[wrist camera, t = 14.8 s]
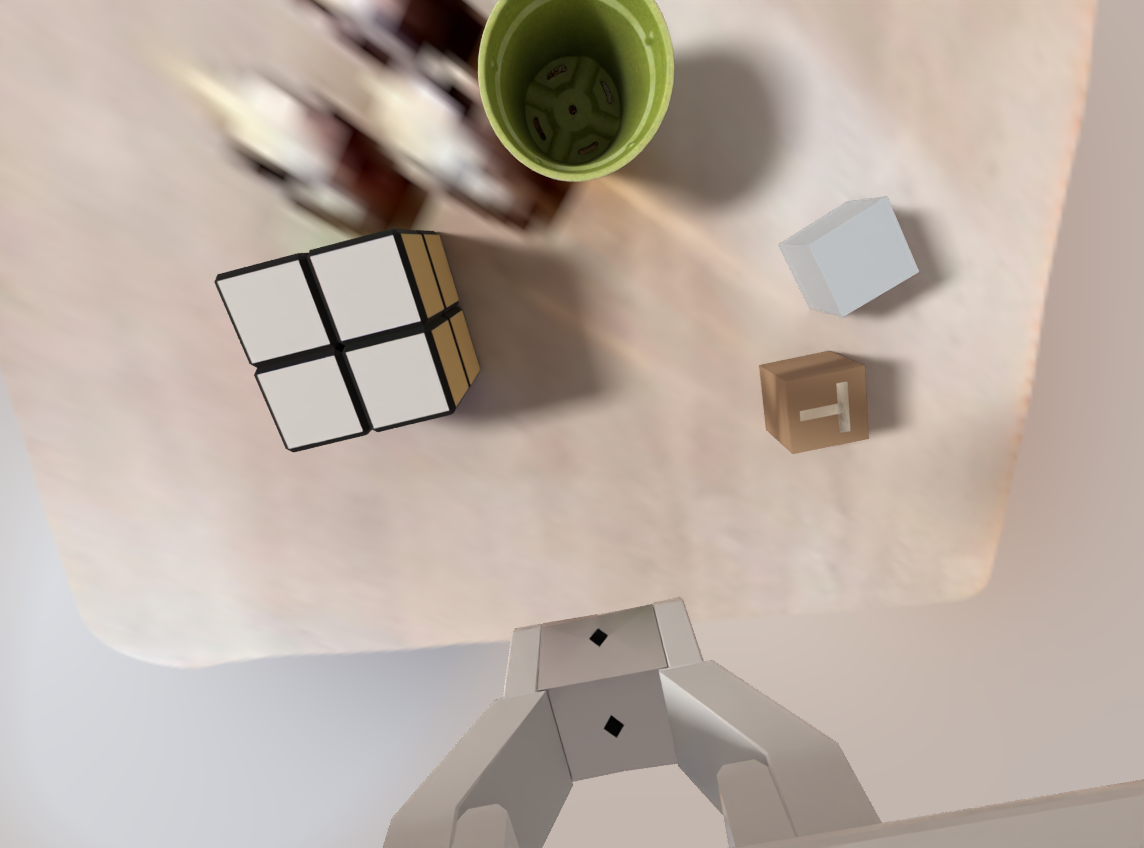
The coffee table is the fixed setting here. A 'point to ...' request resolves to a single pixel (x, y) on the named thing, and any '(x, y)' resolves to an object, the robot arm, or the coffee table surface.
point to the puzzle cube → (353, 336)
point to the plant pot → (576, 81)
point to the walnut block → (815, 401)
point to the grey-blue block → (849, 256)
